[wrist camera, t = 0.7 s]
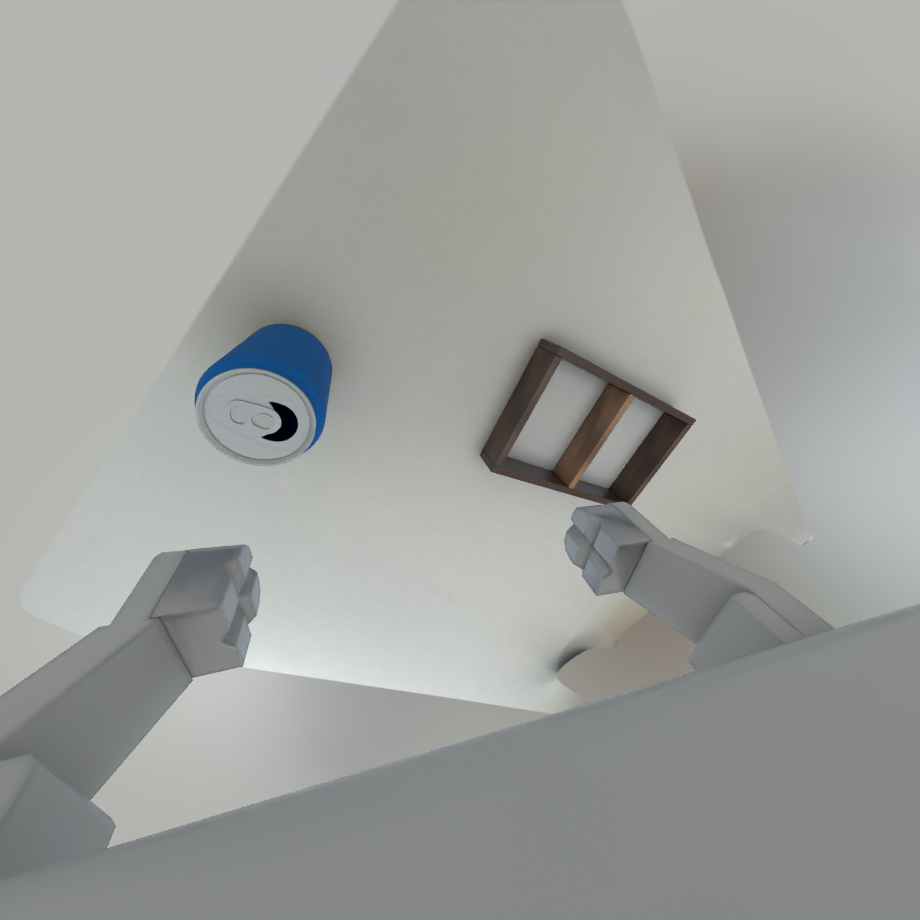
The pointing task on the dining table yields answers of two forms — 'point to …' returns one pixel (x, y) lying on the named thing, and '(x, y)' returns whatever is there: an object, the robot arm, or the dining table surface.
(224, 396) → the beverage can
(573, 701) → the dining table surface
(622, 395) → the tray
